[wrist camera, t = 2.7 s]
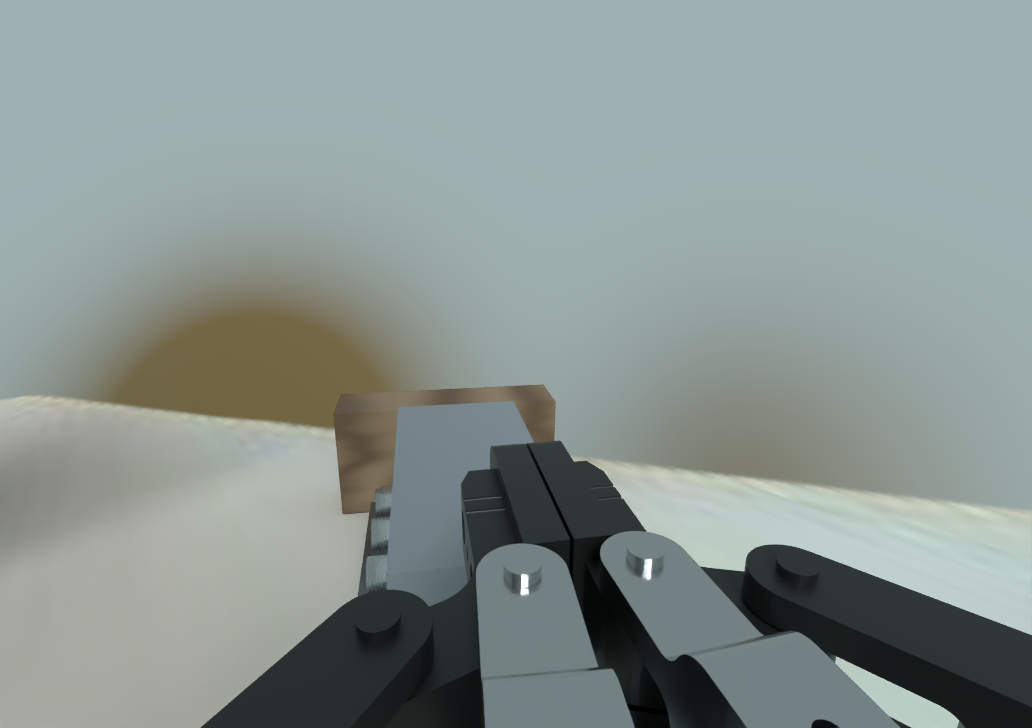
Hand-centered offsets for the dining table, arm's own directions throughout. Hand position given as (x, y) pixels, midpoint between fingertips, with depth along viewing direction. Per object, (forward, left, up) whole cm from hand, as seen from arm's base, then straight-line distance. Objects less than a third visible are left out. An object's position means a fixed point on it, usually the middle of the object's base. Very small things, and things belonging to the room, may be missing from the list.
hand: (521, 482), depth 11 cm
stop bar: (-16, +23, -17) cm, 33 cm away
